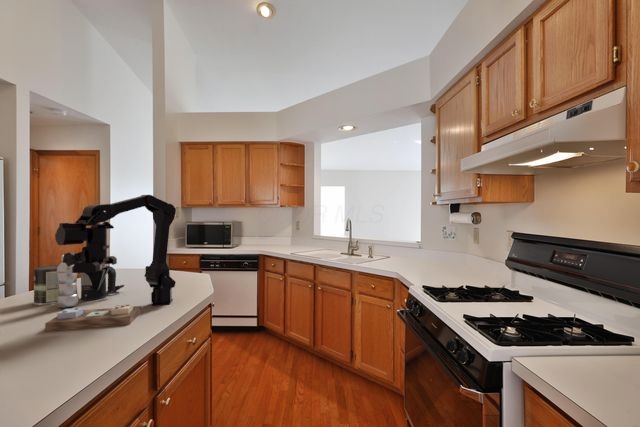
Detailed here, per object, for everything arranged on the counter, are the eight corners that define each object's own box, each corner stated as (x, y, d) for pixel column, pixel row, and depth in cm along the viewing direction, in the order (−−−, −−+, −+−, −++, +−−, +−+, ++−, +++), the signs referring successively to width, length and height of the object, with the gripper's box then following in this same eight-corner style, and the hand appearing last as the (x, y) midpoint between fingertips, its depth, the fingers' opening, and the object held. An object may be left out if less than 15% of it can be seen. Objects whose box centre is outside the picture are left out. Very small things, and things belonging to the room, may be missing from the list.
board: (141, 312, 113) (141, 305, 113) (130, 324, 102) (130, 316, 102) (65, 318, 107) (65, 311, 107) (45, 331, 96) (45, 323, 96)
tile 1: (108, 316, 108) (108, 310, 108) (102, 321, 103) (102, 314, 103) (91, 317, 106) (91, 311, 106) (84, 322, 101) (84, 316, 101)
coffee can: (29, 306, 122) (28, 270, 122) (39, 300, 132) (39, 266, 132) (62, 303, 127) (62, 268, 127) (69, 297, 136) (69, 264, 136)
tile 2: (83, 313, 106) (83, 307, 106) (75, 318, 101) (75, 311, 101) (65, 315, 104) (65, 308, 104) (57, 319, 100) (57, 313, 100)
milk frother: (75, 301, 129) (75, 265, 129) (92, 292, 144) (92, 260, 144) (115, 299, 133) (114, 263, 133) (127, 290, 148) (127, 258, 148)
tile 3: (133, 310, 109) (133, 303, 109) (128, 314, 105) (128, 307, 105) (116, 311, 108) (116, 304, 108) (111, 315, 103) (111, 309, 103)
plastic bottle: (83, 304, 124) (83, 253, 124) (67, 309, 118) (67, 256, 118) (68, 304, 125) (67, 253, 125) (52, 309, 118) (51, 256, 118)
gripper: (81, 241, 111) (81, 285, 111) (51, 246, 93) (51, 299, 93) (117, 240, 114) (117, 283, 114) (94, 245, 96) (94, 296, 96)
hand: (96, 290), depth 104 cm, fingers closed
